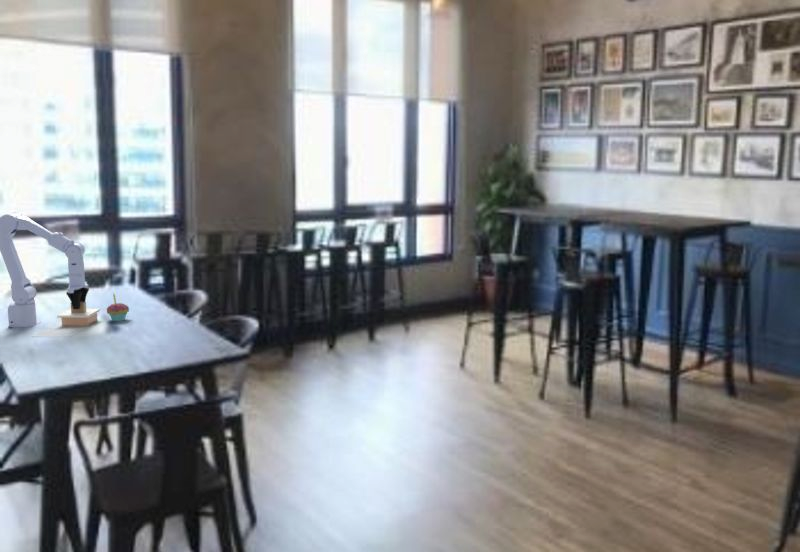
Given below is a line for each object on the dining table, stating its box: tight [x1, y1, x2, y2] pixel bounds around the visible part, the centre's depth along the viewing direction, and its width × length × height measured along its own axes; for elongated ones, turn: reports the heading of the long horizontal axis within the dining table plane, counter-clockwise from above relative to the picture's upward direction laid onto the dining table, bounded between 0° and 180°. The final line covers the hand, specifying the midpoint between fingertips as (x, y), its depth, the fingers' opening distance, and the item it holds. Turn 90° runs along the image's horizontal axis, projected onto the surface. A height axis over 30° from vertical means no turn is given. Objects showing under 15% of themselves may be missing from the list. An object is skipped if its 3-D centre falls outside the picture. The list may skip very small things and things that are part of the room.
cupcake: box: [106, 293, 130, 322], centre depth 303 cm, size 9×8×12 cm
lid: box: [56, 301, 101, 319], centre depth 297 cm, size 12×12×5 cm
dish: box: [61, 312, 98, 327], centre depth 298 cm, size 10×10×4 cm
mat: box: [31, 327, 85, 338], centre depth 283 cm, size 14×14×1 cm
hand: (78, 307), depth 297 cm, fingers open, 4 cm apart
